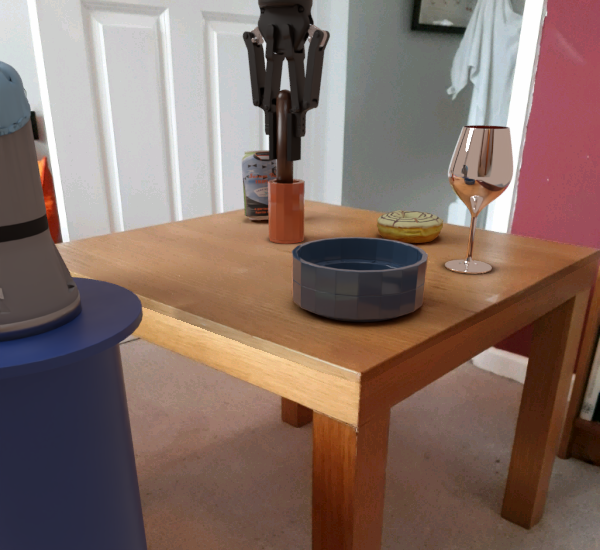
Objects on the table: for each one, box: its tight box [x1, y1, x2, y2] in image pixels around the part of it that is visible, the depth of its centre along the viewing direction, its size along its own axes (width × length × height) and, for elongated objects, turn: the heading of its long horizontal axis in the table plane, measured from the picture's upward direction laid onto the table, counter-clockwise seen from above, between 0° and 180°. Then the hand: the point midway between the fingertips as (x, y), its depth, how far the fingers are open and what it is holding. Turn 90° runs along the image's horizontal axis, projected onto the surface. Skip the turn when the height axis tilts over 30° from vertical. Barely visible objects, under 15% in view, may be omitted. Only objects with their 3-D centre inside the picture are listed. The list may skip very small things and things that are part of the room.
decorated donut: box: [376, 209, 444, 244], centre depth 103 cm, size 10×11×4 cm
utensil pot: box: [268, 178, 306, 245], centre depth 100 cm, size 6×6×9 cm
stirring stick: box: [276, 89, 294, 183], centre depth 96 cm, size 3×3×19 cm
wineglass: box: [444, 124, 514, 275], centre depth 84 cm, size 8×8×18 cm
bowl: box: [291, 236, 429, 323], centre depth 73 cm, size 15×15×6 cm
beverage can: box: [241, 149, 276, 221], centre depth 112 cm, size 6×7×12 cm
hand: (284, 159), depth 96 cm, fingers closed on stirring stick, 3 cm apart
